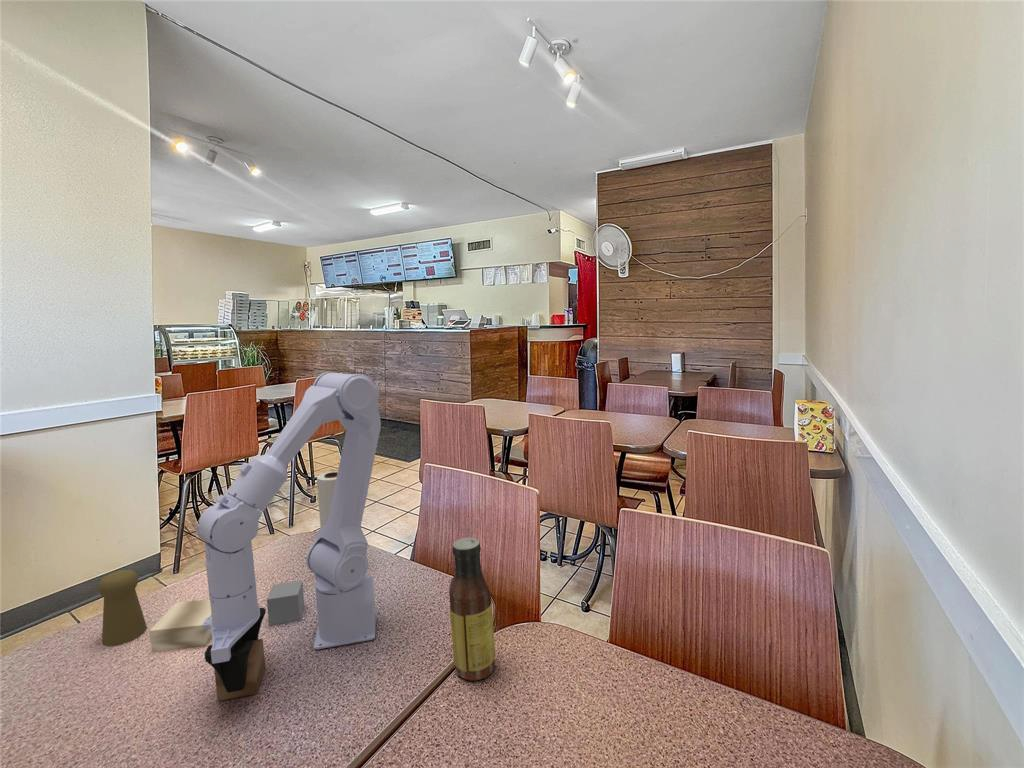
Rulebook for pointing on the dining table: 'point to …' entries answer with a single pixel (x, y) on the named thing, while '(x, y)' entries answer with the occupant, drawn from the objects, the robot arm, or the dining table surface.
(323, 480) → the paper towel roll
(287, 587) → the slate cube
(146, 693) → the dining table surface
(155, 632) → the sticky note pad
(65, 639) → the dining table surface
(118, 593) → the olive round-headed peg
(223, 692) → the walnut cube
